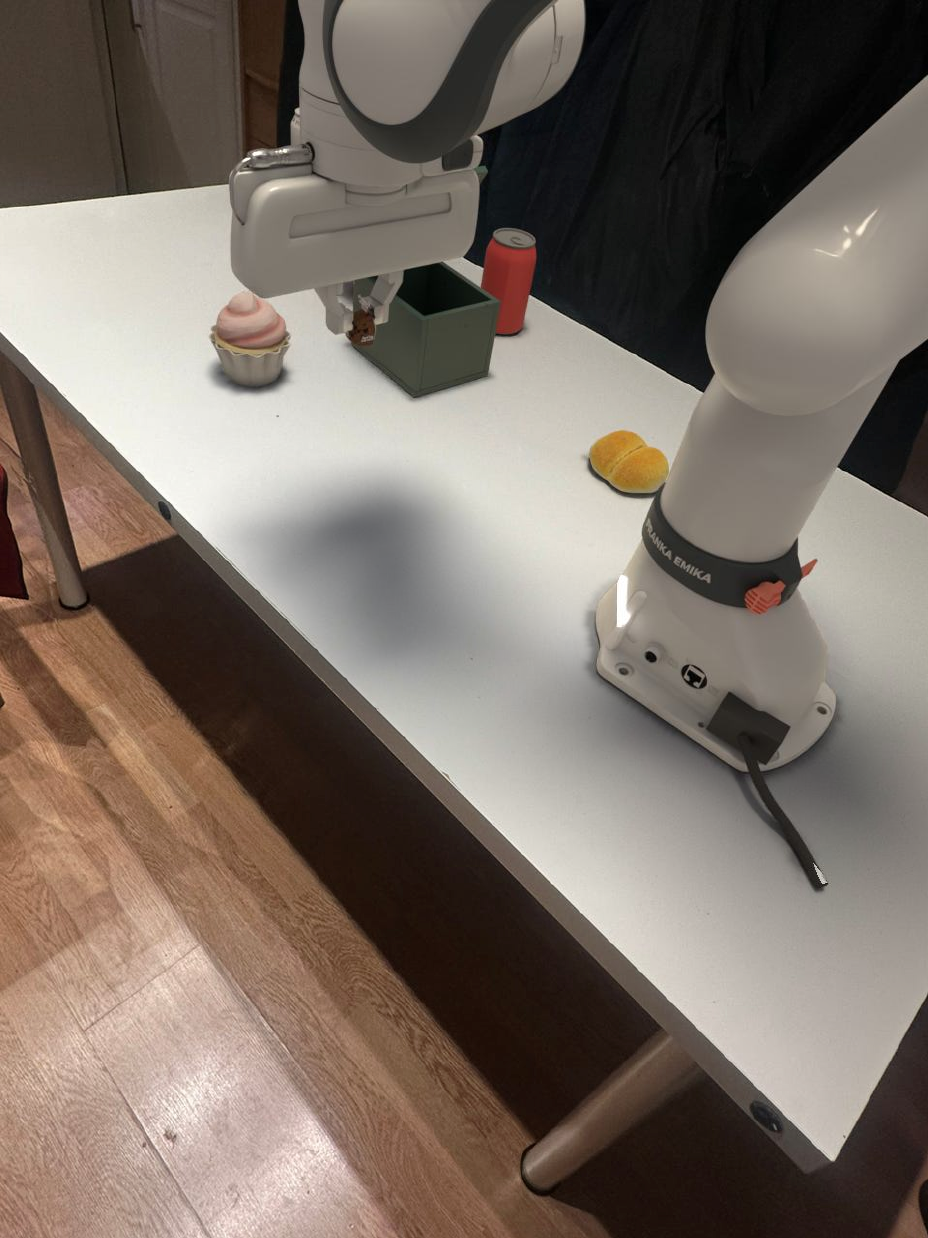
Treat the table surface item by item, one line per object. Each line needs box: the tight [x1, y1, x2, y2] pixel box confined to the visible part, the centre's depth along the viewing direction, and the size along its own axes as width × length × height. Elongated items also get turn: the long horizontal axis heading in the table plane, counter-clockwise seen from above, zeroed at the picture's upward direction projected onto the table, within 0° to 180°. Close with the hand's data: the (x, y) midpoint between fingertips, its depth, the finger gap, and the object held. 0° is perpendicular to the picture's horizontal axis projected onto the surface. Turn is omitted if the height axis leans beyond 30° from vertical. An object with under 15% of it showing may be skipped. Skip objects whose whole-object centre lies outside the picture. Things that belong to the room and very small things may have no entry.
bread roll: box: [589, 429, 670, 494], centre depth 92 cm, size 8×9×4 cm
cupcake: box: [208, 290, 293, 387], centre depth 93 cm, size 9×9×10 cm
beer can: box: [480, 227, 537, 335], centre depth 109 cm, size 7×7×12 cm
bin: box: [350, 261, 501, 399], centre depth 101 cm, size 14×12×10 cm
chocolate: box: [344, 295, 376, 346], centre depth 67 cm, size 3×2×4 cm
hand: (357, 325), depth 67 cm, fingers closed on chocolate, 2 cm apart
